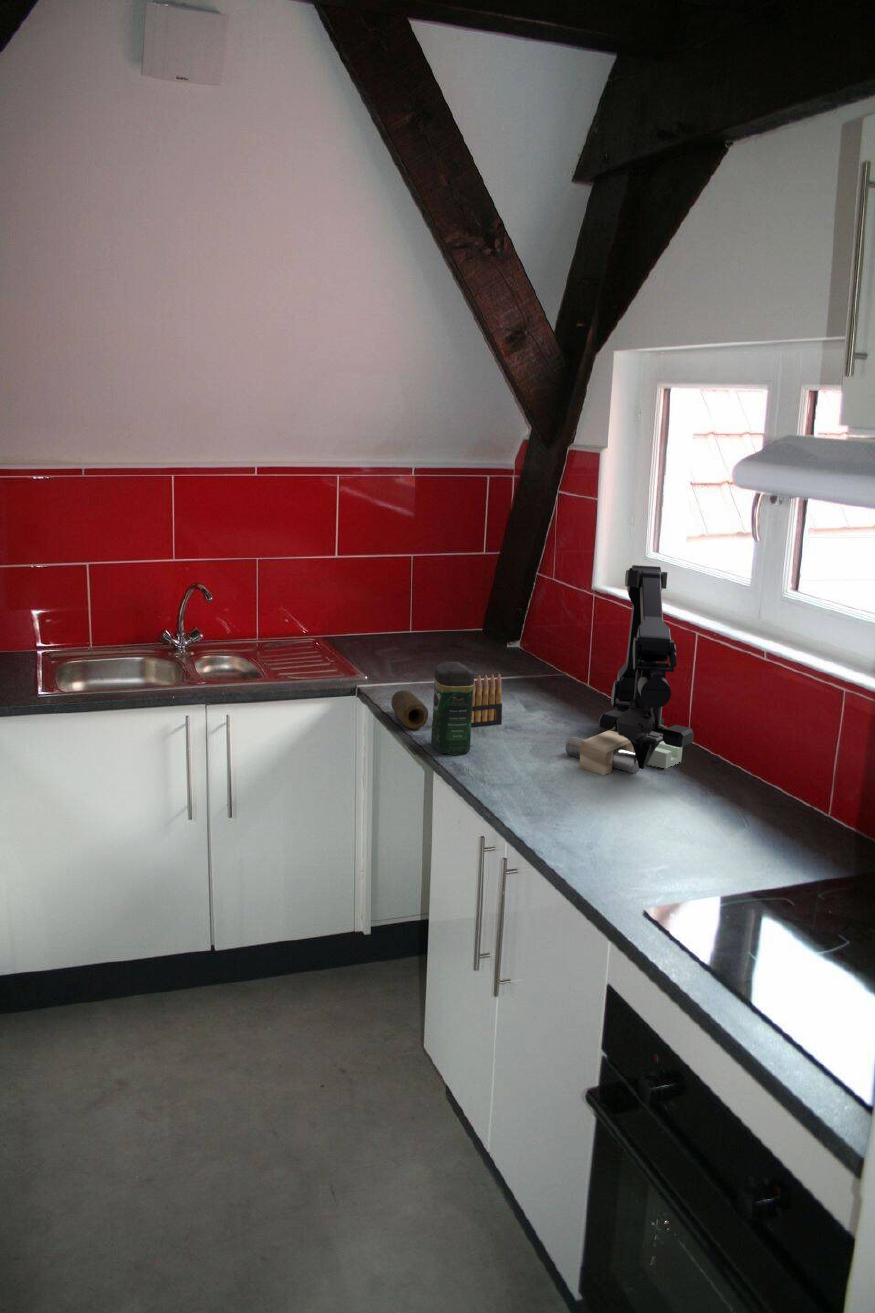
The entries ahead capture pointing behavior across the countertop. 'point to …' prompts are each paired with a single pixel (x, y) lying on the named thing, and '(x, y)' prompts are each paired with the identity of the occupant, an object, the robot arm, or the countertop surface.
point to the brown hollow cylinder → (409, 709)
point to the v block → (665, 755)
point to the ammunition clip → (487, 703)
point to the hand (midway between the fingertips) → (641, 768)
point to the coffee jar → (452, 708)
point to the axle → (620, 757)
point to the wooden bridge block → (602, 751)
